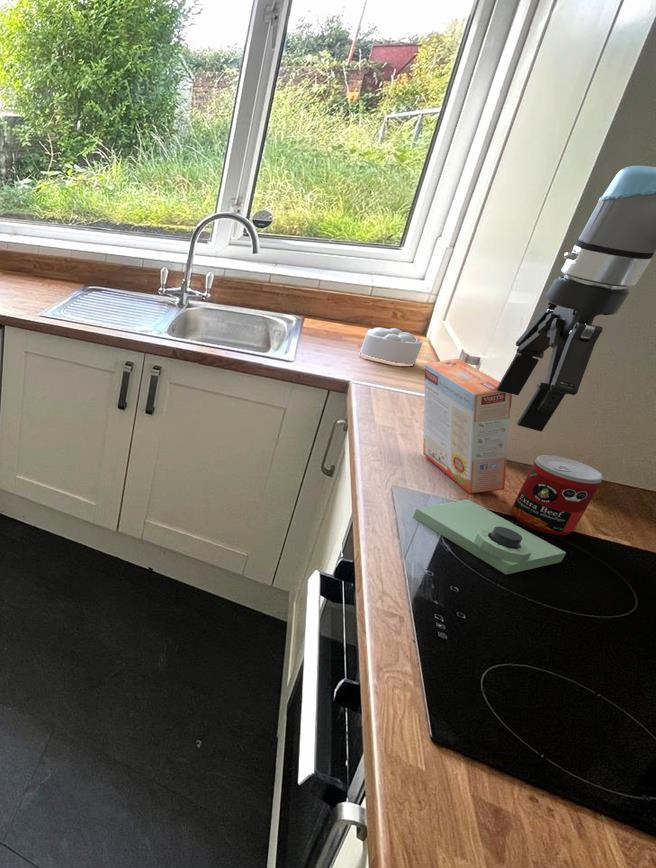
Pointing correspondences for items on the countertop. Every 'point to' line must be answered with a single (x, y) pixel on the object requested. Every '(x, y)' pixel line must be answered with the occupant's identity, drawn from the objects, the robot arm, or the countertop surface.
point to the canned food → (555, 494)
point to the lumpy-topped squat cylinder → (391, 345)
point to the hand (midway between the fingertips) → (517, 409)
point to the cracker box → (466, 425)
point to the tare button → (506, 537)
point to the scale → (487, 536)
